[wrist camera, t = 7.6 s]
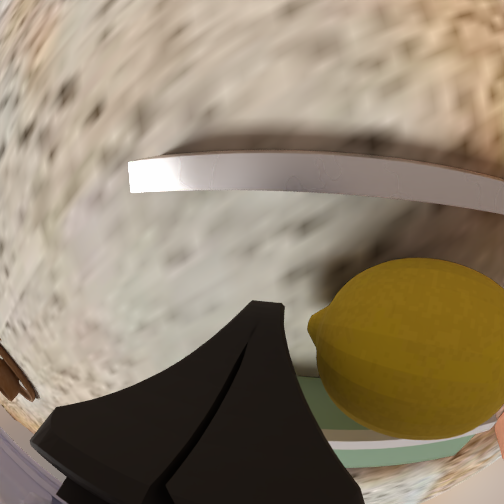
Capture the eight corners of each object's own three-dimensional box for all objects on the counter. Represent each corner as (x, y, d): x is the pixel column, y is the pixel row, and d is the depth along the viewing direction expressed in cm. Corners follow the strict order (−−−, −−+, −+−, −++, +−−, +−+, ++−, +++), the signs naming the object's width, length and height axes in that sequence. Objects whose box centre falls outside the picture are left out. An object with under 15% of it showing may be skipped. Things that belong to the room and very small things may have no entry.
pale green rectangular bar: (446, 418, 12) (455, 462, 9) (202, 407, 15) (182, 452, 12) (478, 372, 10) (497, 421, 7) (190, 360, 14) (161, 411, 10)
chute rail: (538, 213, 7) (565, 228, 5) (161, 181, 10) (131, 192, 8) (541, 190, 6) (569, 203, 4) (159, 155, 10) (128, 161, 8)
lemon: (338, 223, 10) (535, 249, 5) (337, 338, 12) (493, 371, 7) (248, 289, 6) (587, 354, 2) (269, 424, 8) (479, 484, 3)
